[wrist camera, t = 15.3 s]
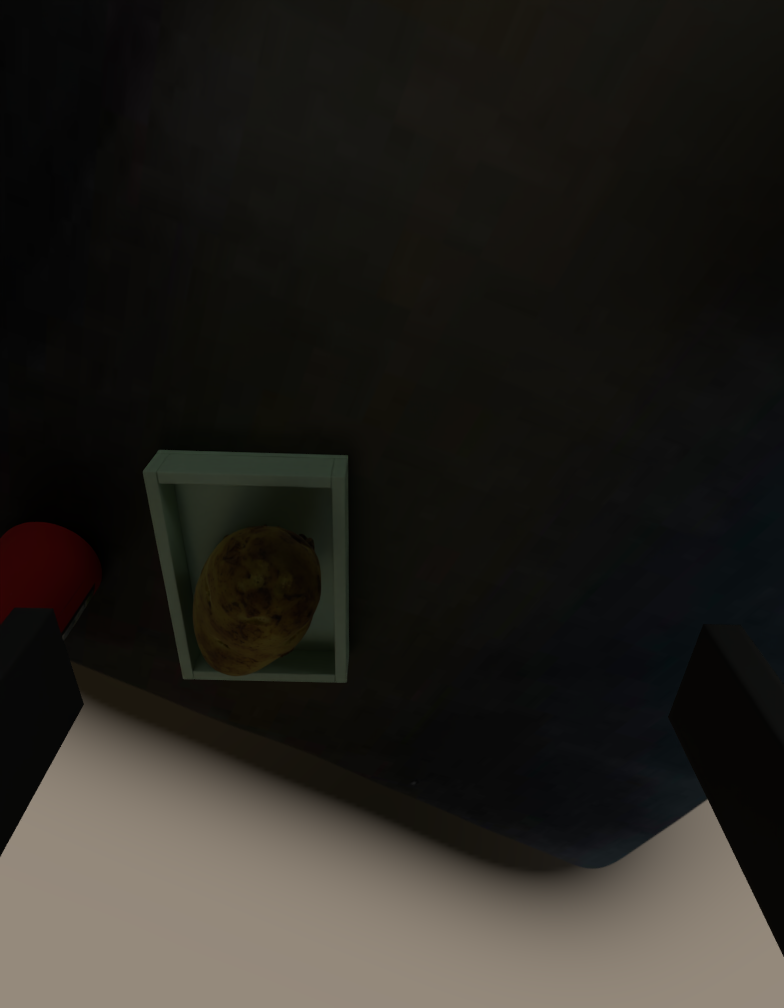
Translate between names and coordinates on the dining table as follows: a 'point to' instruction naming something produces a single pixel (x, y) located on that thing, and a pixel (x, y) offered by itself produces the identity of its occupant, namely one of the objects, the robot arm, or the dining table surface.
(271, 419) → the dining table surface
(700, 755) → the robot arm
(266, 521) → the tray
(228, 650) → the potato
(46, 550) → the beverage can
